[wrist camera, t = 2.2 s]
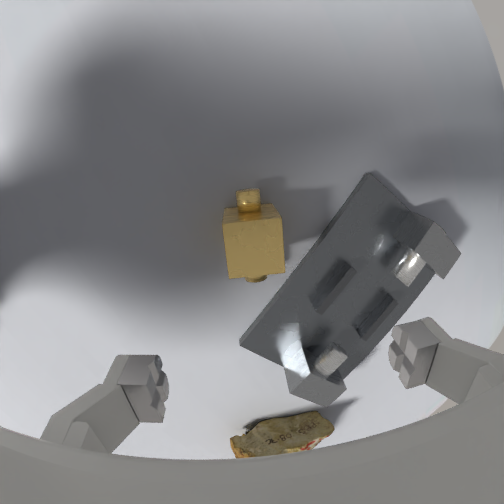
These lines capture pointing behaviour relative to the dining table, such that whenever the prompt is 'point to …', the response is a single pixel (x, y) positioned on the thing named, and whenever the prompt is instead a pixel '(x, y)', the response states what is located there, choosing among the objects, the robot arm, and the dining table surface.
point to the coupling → (253, 238)
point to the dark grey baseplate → (349, 291)
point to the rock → (282, 435)
